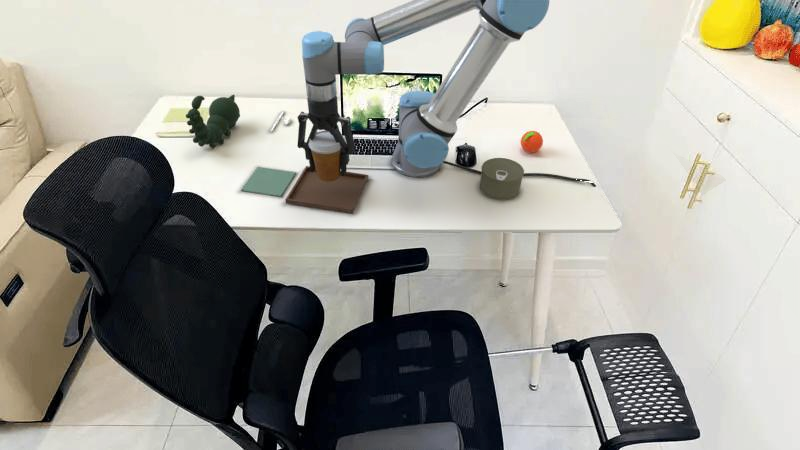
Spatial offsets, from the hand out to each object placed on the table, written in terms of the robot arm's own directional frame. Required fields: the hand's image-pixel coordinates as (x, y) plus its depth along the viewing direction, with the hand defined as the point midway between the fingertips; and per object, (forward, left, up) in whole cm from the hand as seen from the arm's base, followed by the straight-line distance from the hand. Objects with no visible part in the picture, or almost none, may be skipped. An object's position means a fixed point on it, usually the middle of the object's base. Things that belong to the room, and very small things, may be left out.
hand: (328, 171), depth 150 cm
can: (-48, -13, -7) cm, 50 cm away
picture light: (+27, -34, -7) cm, 44 cm away
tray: (0, 0, -7) cm, 7 cm away
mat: (+18, 0, -7) cm, 20 cm away
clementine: (-56, -36, -7) cm, 67 cm away
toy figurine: (+43, -20, -7) cm, 48 cm away
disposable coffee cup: (0, 0, -2) cm, 2 cm away
